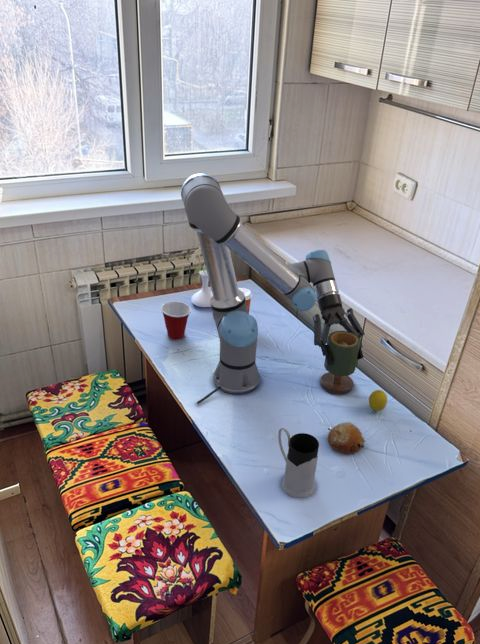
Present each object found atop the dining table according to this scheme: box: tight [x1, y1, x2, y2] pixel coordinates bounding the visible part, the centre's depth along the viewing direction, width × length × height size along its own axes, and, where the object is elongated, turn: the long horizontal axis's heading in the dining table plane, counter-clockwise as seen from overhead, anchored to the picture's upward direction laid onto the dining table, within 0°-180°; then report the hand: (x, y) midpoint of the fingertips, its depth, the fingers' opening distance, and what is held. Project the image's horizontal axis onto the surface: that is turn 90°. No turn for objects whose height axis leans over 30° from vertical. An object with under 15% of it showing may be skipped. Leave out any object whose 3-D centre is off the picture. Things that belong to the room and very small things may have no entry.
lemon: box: [368, 389, 388, 412], centre depth 176 cm, size 6×6×8 cm
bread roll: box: [327, 421, 366, 455], centre depth 163 cm, size 10×10×8 cm
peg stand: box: [319, 342, 354, 396], centre depth 184 cm, size 11×11×17 cm
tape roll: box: [323, 330, 361, 377], centre depth 181 cm, size 10×10×11 cm
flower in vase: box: [188, 246, 213, 308], centre depth 222 cm, size 13×11×25 cm
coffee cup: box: [238, 287, 253, 314], centre depth 212 cm, size 8×8×15 cm
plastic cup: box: [160, 300, 192, 341], centre depth 204 cm, size 11×11×12 cm
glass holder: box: [277, 427, 320, 499], centre depth 147 cm, size 9×14×15 cm, turn 36°
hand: (346, 361), depth 180 cm, fingers closed on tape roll, 10 cm apart
